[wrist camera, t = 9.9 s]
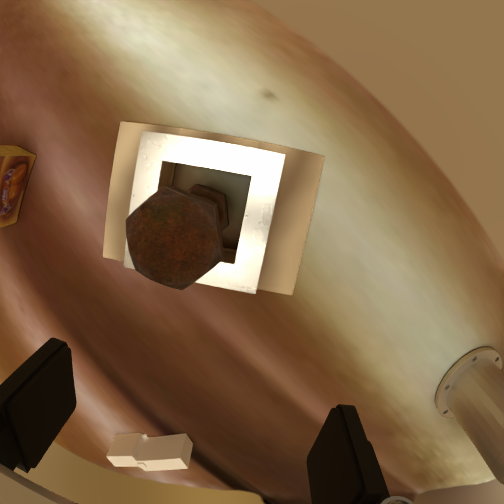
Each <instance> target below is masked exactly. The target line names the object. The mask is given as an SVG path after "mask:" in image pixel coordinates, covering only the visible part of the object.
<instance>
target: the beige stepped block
mask: <svg viewBox="0 0 504 504" xmlns="http://www.w3.org/2000/svg"><path fill="white" fill-rule="evenodd" d="M192 446H193V443H192V442H191V440H190V439H189V437H188V436H187V434H186V433H185V434H177V435H169V436H160V437H149V438H148V436H147V435H146V434H141V433H132V434H118V435H116V436H115V438H114V440H113V442H112V445H111V447H110V449H109V451H108V453H107V456H106V457H107V458H108V459H109V460H110V461H111V463H112V464H113V465H114V466H139V467H140V468H142V469H143V470H144V471H156V470H174V469H187V468H188V466H189V461H190V456H191V451H192Z"/></svg>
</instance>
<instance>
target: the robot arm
mask: <svg viewBox="0 0 504 504" xmlns="http://www.w3.org/2000/svg"><path fill="white" fill-rule="evenodd" d="M435 404H436V408H437V410H438V411H439V413H440V414H441V415H442V416H444V417H446V418H456V419H457V420H458V422H459V423H460V425H461V426H462V428H463V429H464V431H465V432H466V434H467V435H468V436H469V438H470V439H471V441H472V442H473V444H474V445H475V447H476V448H477V450H478V451H479V453H480V454H481V456H482V457H483V459H484V461H485V462H486V464H487V465H488V467H489V468H490V470H491V471H492V473H493V474H494V476H495V478H496V479H497V480H498V481H499V482H500V483H502V484H504V372H503V371H502V358H501V356H500V354H499V353H498V352H497V351H496V350H495V349H493V348H490V347H483V348H479V349H476V350H474V351H472V352H470V353H469V354H467V355H465V356H464V357H463V358H461V359H460V360H459V361H458V362H457V363H456V364H455V365H454V366H453V367H452V368H451V369H450V370H449V371H448V373H447V374H446V376H445V377H444V378H443V380H442V382H441V384H440V386H439V388H438V390H437V393H436V398H435ZM75 408H76V394H75V386H74V378H73V368H72V356H71V349H70V348H69V347H68V345H67V343H66V342H64V341H61V340H59V339H56V338H50V339H49V340H48V341H47V342H46V343H45V344H44V345H43V346H41V347H40V348H39V349H38V350H37V351H36V352H35V353H34V354H33V355H32V356H31V357H29V358H28V359H27V360H26V361H25V362H24V363H23V364H22V365H21V366H20V367H19V368H18V369H17V370H16V371H14V372H13V373H12V374H11V375H10V376H9V377H8V378H7V379H6V380H5V381H4V382H3V383H2V384H1V385H0V504H78V503H75V502H73V501H70V500H68V499H66V498H64V497H62V496H60V495H57V494H55V493H53V492H51V491H49V490H47V489H45V488H43V487H41V486H39V485H37V484H35V483H34V482H32V481H30V480H28V479H26V478H24V477H22V476H21V475H19V474H17V473H15V472H14V469H15V468H16V467H17V468H19V469H21V470H23V471H24V472H26V473H28V472H29V470H30V469H31V468H35V467H36V466H37V465H38V463H39V462H40V460H41V459H42V457H43V455H44V454H45V453H46V451H47V450H48V448H49V447H50V445H51V444H52V442H53V441H54V439H55V438H56V436H57V435H58V433H59V432H60V430H61V429H62V427H63V426H64V424H65V423H66V422H67V420H68V419H69V417H70V416H71V414H72V413H73V411H74V410H75ZM307 470H308V477H309V484H310V492H311V500H312V504H414V503H413V502H412V501H410V500H408V499H407V498H404V497H399V496H393V497H390V495H389V492H388V489H387V486H386V483H385V480H384V478H383V475H382V472H381V469H380V466H379V463H378V460H377V458H376V455H375V452H374V449H373V447H372V444H371V442H369V441H367V438H366V435H365V432H364V430H363V427H362V424H361V421H360V418H359V416H358V413H357V410H356V408H355V406H353V405H341V404H339V405H337V406H336V408H332V409H331V410H330V412H329V415H328V417H327V419H326V421H325V423H324V425H323V427H322V429H321V431H320V433H319V435H318V437H317V439H316V441H315V443H314V445H313V447H312V448H311V450H310V452H309V454H308V457H307Z"/></svg>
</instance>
